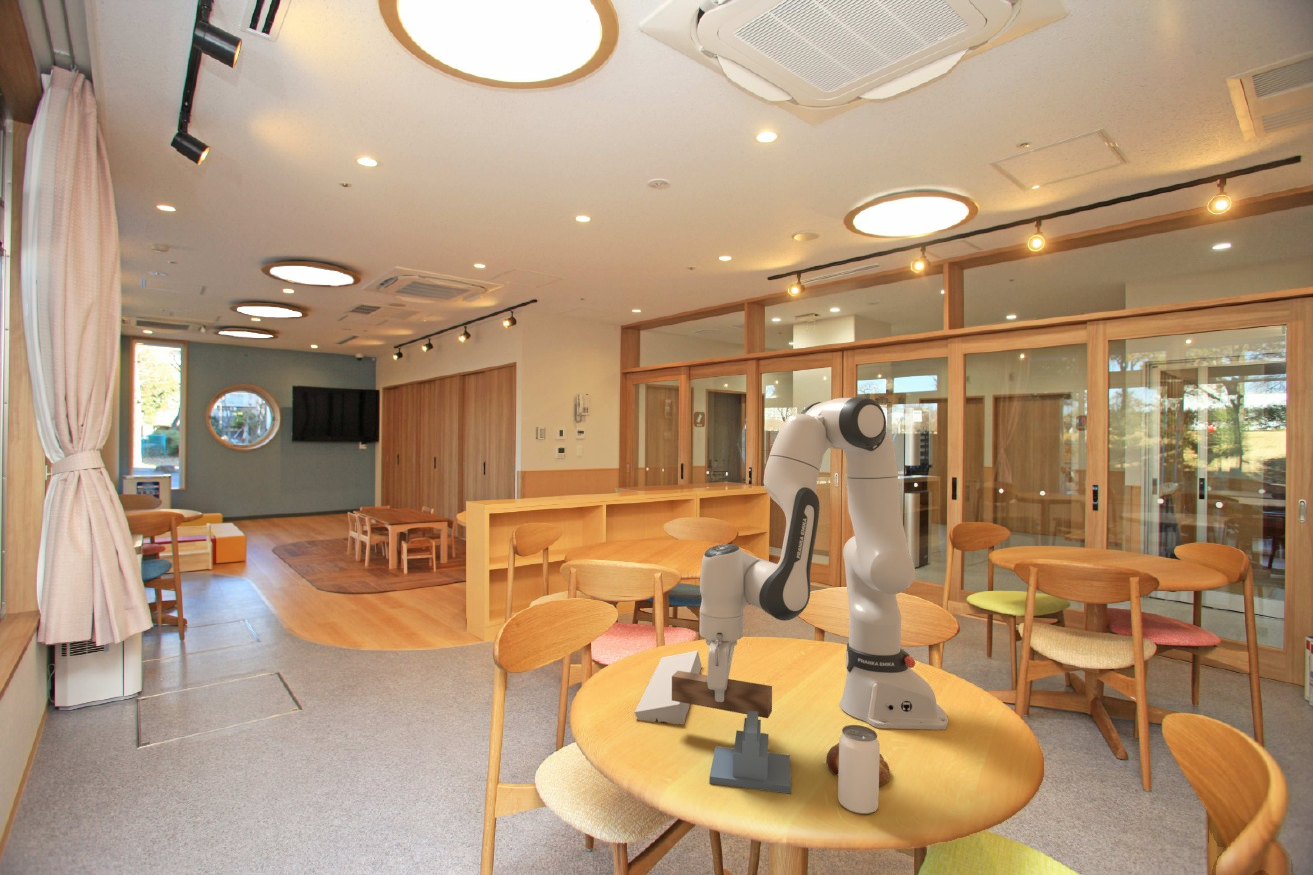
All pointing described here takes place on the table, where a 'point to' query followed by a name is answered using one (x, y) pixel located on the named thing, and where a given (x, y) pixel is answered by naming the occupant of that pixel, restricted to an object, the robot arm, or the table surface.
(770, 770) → the gray stepped block
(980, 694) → the table surface
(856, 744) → the can
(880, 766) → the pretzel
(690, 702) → the walnut bar
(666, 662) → the beige long block
